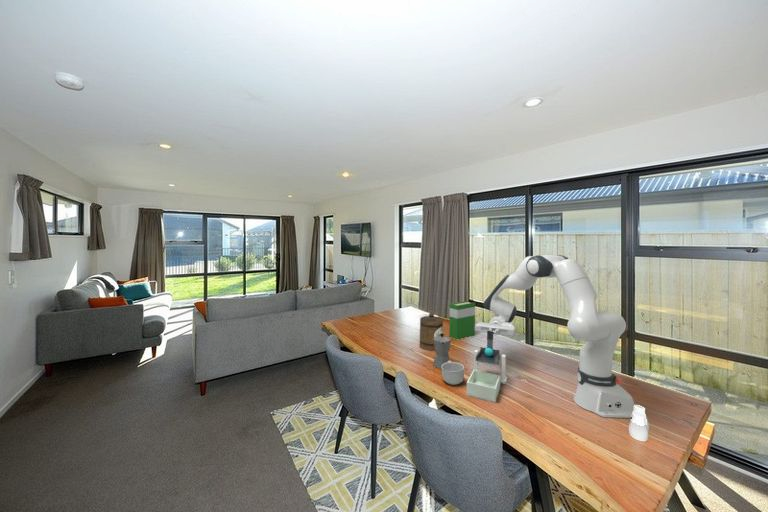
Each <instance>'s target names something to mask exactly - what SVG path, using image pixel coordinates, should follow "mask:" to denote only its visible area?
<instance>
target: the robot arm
mask: <svg viewBox="0 0 768 512" xmlns="http://www.w3.org/2000/svg"><path fill="white" fill-rule="evenodd" d="M538 278H539V279H541V278H548V279H549V278H556V279H557V280H558V283H559V284H560V288H561V289H562V291H563V293H564V295H565V298H566V301H567V303H568V306H569V319H568V321H567V325H566V326H567V331H568V333H569V335H570V336H571V337H572V338H574V339H575V340H577V341H582V342H585V343H584V344H583V345H582V347H581V348H580V350H579V360H578V361H579V362H578V365H579V366H578V369H577V374H576V375H577V376H576V377H577V378H576V379H577V387H576V390H575V393H574V396H573V401H574V403H575V404H577V405H578V406H579V407H581V408H582V409H585V410H587V411H589V412H592V413H595V414H596V415H598V416H600V417H602V418H618V419H619V418H620V419H621V418H622V419H632V418H631V414H632V411H633V406H634V405H635V402H634V398H633V397H632V395H631V394H630V393H629V392H628V391H627V390H625V389H624V387H622V386H621V385H622V384H623V383H624V382H623V379H622V378H620V377H618V376H617V375H615V374H614V373H613V360H614V359H613V358H614V353H615V350H616V347H617V344H618V342H619V339H620V337H621V335H623V334H624V333H625V331H626V330H627V329H626V328H627V323H626V321H625V320H626V319H624V317H623V316H622V315H620V314H619V313H617V312H614V311H607V310H602V311H598V310H597V306H596V300H597V298H598V293H597V292H596V289H595V288H594V286H593V284H592V282H591V280H590V279H589V277H588V274H587V273H586V272H585V270H584V268H583V267H582V265H580V264H579V262H578V261H577V260H575V259H573V258H568V257H567V256H565V255H562V254H542V255H540V254H539V255H528V256H526V257H525V258H524V259H523V260H522V261H521V263H519V265H518V266H517V268H516V270H515V271H514V272H513V273H512V274H506V276H504V277H503V278H502V279H501V280H500V281H499V283H498V284H497V285H496V286H495V287H494V289H493V290H492V291H491V292H490V293H489V294H488V295H486V297H485V298H484V300H483V306H484V308H485V310H488V311H489V312H491V313H493V314H494V315H493V316H492V318H491V319H490V320H489V321H488V322H483V321H482V322H481V321H478V322H477V323H475V332H481V333H487V331H493V336H494V335H495V336H496V335H497V336H498V335H501V336H509V337H515V336H516V327H515V325H514V323H513V321H514V319H515V318H516V314H517V311H518V309H517V306H516V305H515V304H513V303H511V302H510V301H508V300H506V299H504V298H501V297H500V296H499V295H500V294H501V292H502V291H504V290H505V289H513V290H517V291H527V290H530V289H531V288H532V287H533V286H534V285H535V283H536V282H537V280H538Z"/></svg>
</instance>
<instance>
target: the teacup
mask: <svg viewBox="0 0 768 512" xmlns="http://www.w3.org/2000/svg"><path fill="white" fill-rule="evenodd" d="M441 368H442V369H441V375H442V376H441V377H442V379H443V381H445V383H447V384H448V385H451V386H455V385H456V386H457V385H460V384H461V383H462V382H463V381H464V377H465V366H464V364H462V363H460V362H456V361H452V360H450V361H448V362H446V363H444V364H442V366H441Z"/></svg>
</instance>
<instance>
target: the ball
mask: <svg viewBox="0 0 768 512" xmlns="http://www.w3.org/2000/svg"><path fill="white" fill-rule="evenodd" d="M485 348H486V349H485V354H486V355H487V356H492V355H493V350H492V349H491V348H487V347H485Z"/></svg>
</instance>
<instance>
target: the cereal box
mask: <svg viewBox="0 0 768 512" xmlns="http://www.w3.org/2000/svg"><path fill="white" fill-rule="evenodd" d="M475 325H476V302H469V300H464V301H459V302H454V303H453V302H452V303H449V338H451V337H452V338H451V339H453V338H455V339H454V340H456V339H459V340H462V339H461V338H463V339H466V338H465V337H467V338H471V337H474V335H476V334H475V333H476V330H475ZM470 336H471V337H470Z"/></svg>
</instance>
